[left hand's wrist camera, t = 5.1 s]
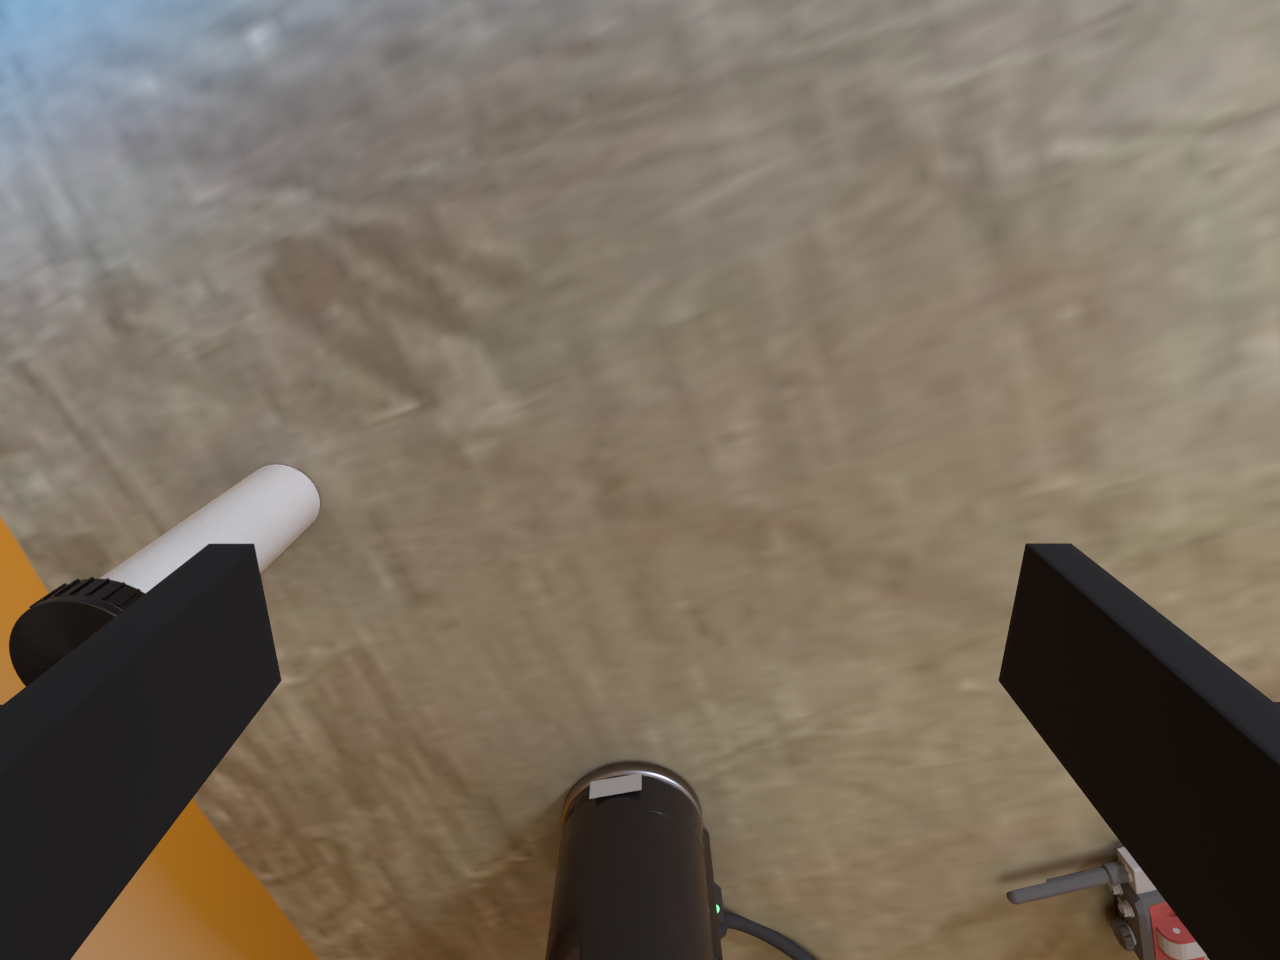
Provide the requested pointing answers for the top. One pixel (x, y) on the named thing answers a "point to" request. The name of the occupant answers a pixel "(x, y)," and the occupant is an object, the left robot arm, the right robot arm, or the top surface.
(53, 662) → the lid
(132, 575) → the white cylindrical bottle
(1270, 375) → the top surface
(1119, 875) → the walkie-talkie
